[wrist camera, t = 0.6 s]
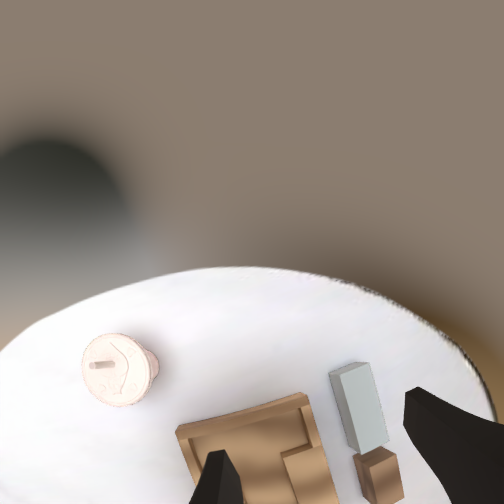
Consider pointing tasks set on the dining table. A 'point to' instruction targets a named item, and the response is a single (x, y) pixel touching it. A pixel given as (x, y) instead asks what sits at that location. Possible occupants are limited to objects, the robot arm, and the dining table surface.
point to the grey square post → (359, 406)
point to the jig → (266, 451)
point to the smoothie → (118, 369)
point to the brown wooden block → (379, 476)
